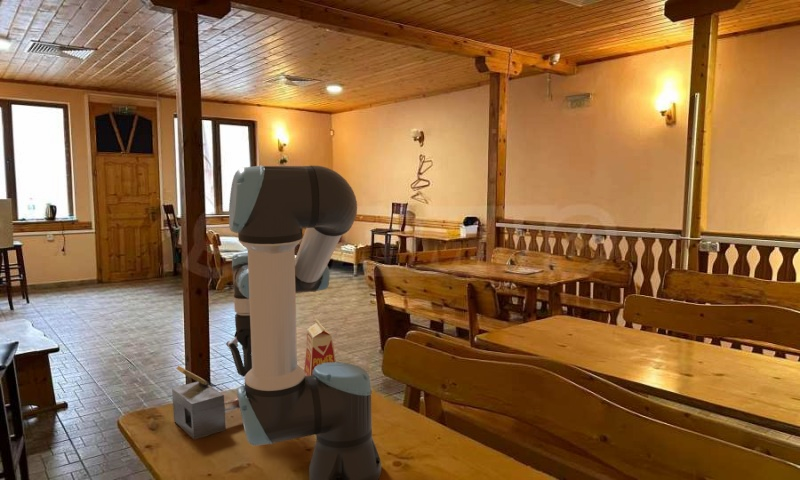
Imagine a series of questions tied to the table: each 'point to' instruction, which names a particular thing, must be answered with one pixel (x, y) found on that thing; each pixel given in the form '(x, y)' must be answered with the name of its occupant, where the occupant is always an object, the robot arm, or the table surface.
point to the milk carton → (318, 348)
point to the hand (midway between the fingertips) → (254, 398)
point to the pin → (231, 404)
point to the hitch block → (198, 409)
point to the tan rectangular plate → (192, 376)
